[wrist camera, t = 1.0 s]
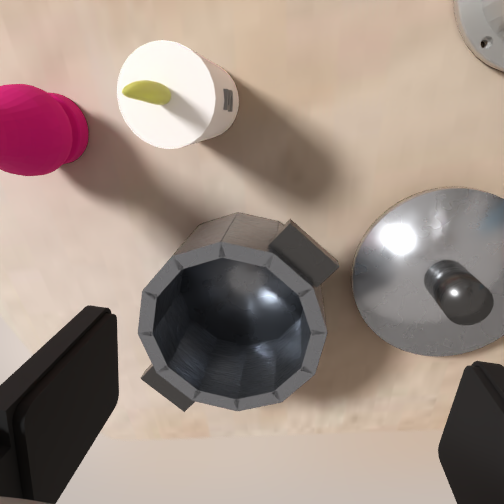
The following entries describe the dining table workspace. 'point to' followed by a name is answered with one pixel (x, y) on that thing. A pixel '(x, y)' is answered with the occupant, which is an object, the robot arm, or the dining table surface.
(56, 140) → the pepper mill
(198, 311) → the pot
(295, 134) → the dining table surface
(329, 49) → the dining table surface
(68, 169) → the dining table surface
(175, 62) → the candle
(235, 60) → the dining table surface
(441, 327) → the lid
